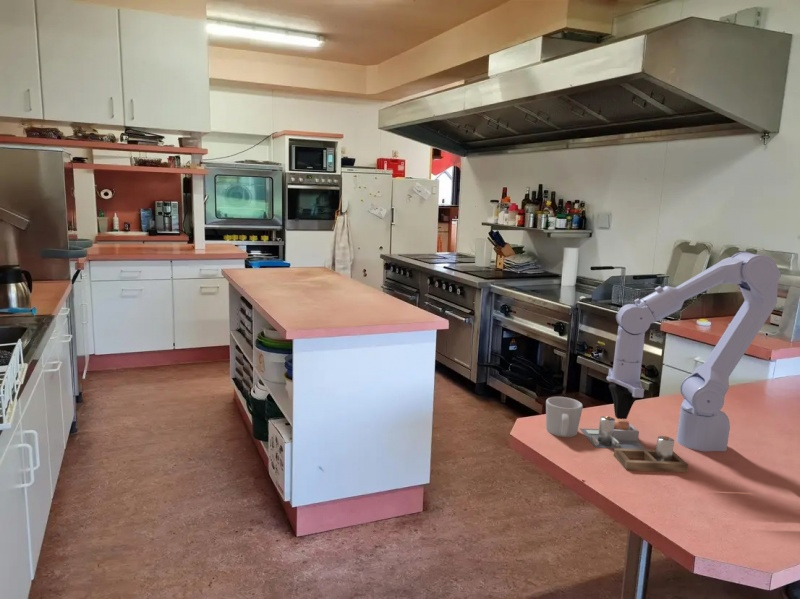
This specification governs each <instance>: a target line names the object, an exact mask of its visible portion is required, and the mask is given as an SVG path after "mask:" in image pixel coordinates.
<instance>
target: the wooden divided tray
mask: <svg viewBox="0 0 800 599" xmlns="http://www.w3.org/2000/svg"><path fill="white" fill-rule="evenodd" d="M613 450H614V451H613V457H614V458H615V459H616V461H617V462H619V464H620V465H621V466H622V467H623V468H624V470H626V471H641V472H671V473H688V469H689V468H688V467H689V464H688V463H687V462H686V461H685V460H684V459H682V458H681V457H680V456H679V455H678V454H677V453H676V452H675V451H673V454H672V461H671V462H668V461H657V460H656V459H655V455H656V449H647V448H646V449H622V448H614V449H613ZM638 459H639V460H638Z"/></svg>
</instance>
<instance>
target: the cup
mask: <svg viewBox="0 0 800 599" xmlns="http://www.w3.org/2000/svg"><path fill="white" fill-rule="evenodd" d="M583 409H584V406H583V403H582V402H580V401H579V400H577V399H574V398H571V397H566V396H565V397H564V396H551V397H548V398H547V399H546V400H545V421H546V422H545V424H546V425H545V427H546V428H545V429H546V431H547V432H548V433H549V434H551V435H554V436H556V437H557V436H558V437H562V438H572V437H575V436H577V435H578V430H579V427H580V421H581V418H582V412H583Z"/></svg>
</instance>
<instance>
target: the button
mask: <svg viewBox="0 0 800 599" xmlns="http://www.w3.org/2000/svg"><path fill="white" fill-rule="evenodd" d="M614 419H615V423H614V429H621V430H628V429H629V423H630V422H629V421H628V420H627V419H617V418H614Z"/></svg>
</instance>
